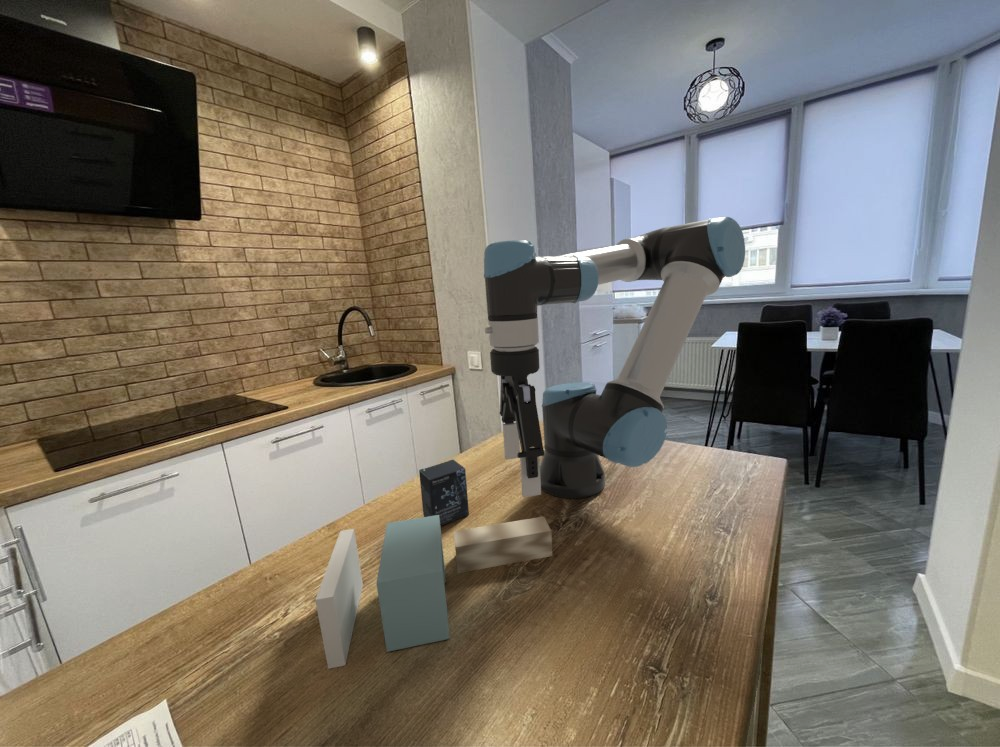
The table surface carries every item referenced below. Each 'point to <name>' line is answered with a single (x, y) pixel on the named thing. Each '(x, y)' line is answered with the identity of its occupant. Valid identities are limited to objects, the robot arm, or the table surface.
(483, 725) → the table surface
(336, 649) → the wall
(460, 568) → the rectangular bar
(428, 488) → the box
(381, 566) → the block
